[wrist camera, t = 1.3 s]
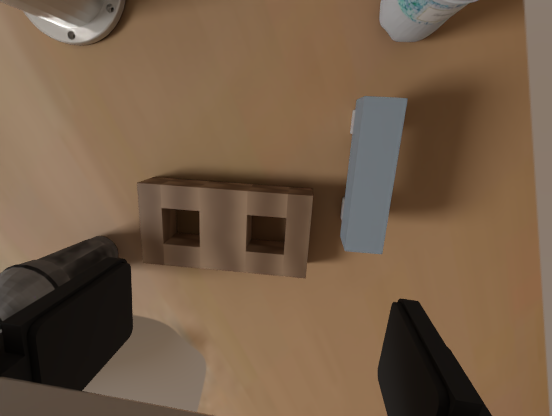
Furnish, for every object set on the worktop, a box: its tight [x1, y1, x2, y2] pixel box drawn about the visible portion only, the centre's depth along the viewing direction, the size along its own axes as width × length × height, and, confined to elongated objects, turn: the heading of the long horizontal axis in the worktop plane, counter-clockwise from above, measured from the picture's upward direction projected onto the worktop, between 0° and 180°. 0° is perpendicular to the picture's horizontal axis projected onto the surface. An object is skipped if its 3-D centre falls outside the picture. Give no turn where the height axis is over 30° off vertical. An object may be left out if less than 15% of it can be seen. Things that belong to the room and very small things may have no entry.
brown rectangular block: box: [137, 177, 313, 278], centre depth 37 cm, size 20×10×4 cm, turn 87°
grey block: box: [340, 96, 408, 254], centre depth 31 cm, size 14×4×9 cm, turn 177°
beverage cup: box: [0, 236, 118, 333], centre depth 32 cm, size 7×7×20 cm
